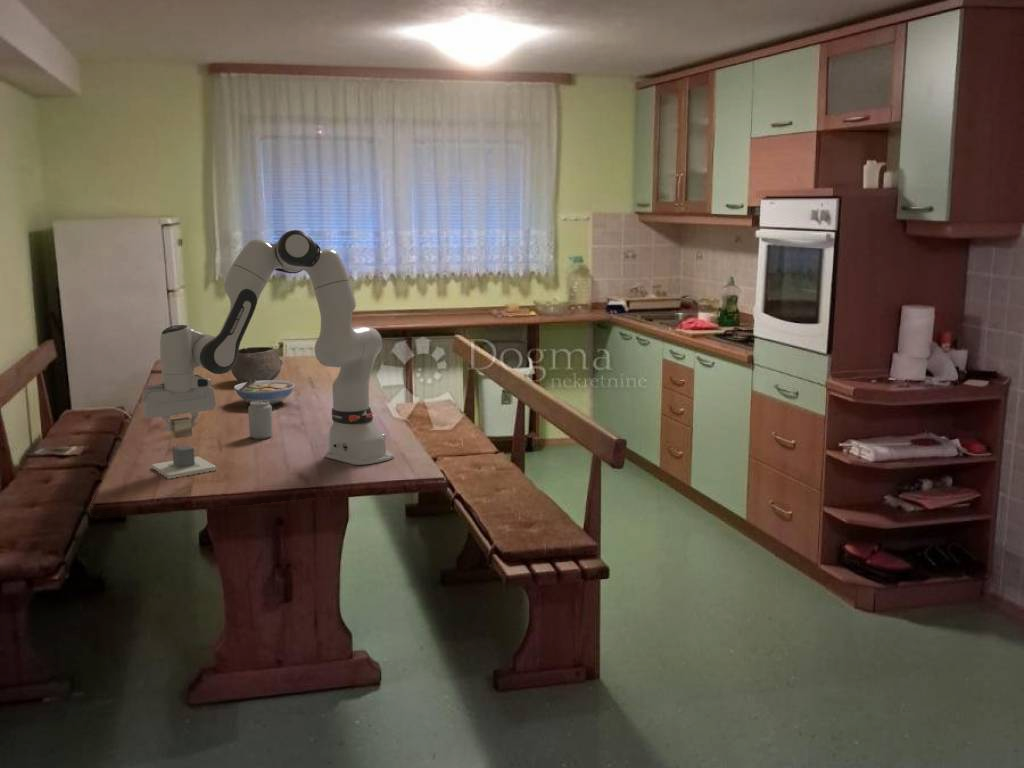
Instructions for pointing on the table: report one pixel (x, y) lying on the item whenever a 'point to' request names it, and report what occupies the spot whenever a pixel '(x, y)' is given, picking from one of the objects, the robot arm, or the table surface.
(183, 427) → the birch block
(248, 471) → the table surface
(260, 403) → the can
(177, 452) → the grey block
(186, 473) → the build board
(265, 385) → the ramen bowl
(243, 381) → the clay pot
